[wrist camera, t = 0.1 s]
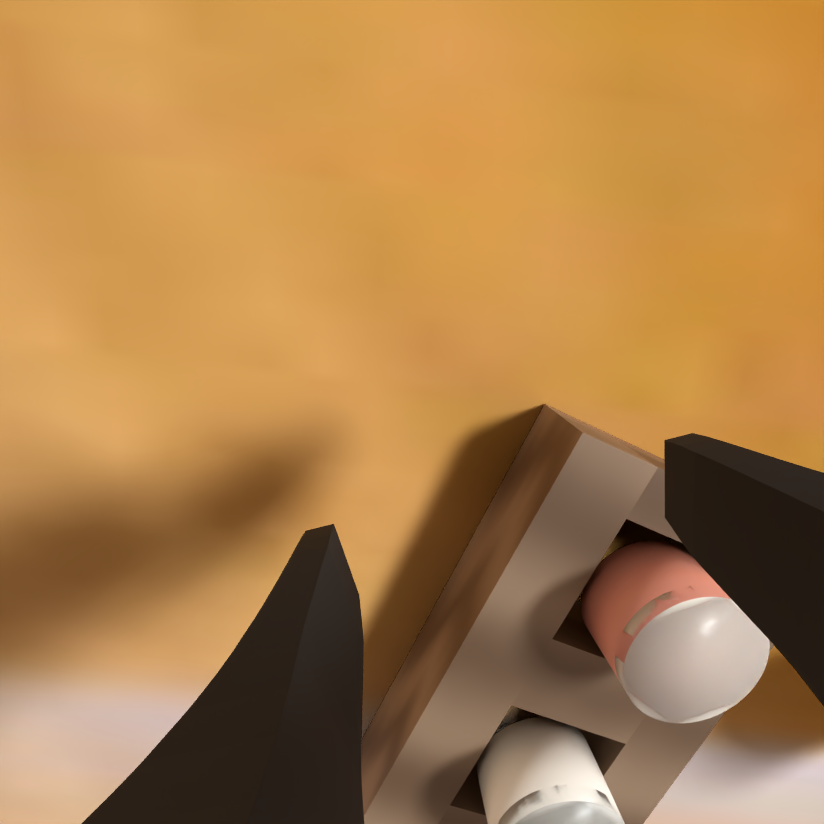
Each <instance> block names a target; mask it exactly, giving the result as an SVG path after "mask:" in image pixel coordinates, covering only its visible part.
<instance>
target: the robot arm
mask: <svg viewBox="0 0 824 824" xmlns="http://www.w3.org/2000/svg"><path fill="white" fill-rule="evenodd" d="M665 518H666V520H667V521H668V523H669V524H670V526H671V527H672V529H673V530H674V532H675V533H676V535H677V536H678V538H679V539H680V540H681V542H682V543H683V544H684V546H685V547H686V549H687V550H688V551H689V553H690V554H691V555H692V557H693V558H694V559H695V560H696V561H697V562H698V563H699V565H700V566H701V567H702V568H703V569H704V570H705V571H706V572H707V573H708V574H709V576H710V577H711V578H712V579H713V580H714V581H715V582H716V583H717V584H718V585H719V586H720V588H721V589H722V590H723V591H724V592H725V593H726V594H727V595H728V596H729V597H730V598H731V599H732V600H733V602H734V603H735V604H736V605H737V606H738V607H739V608H740V609H741V610H742V611H743V612H744V613H745V614H746V615H747V617H748V618H749V619H750V620H751V621H752V622H753V623H754V624H755V625H756V626H757V627H758V628H759V629H760V630H761V632H762V633H763V634H764V635H765V636H766V637H767V638H768V639H769V640H770V641H771V642H772V643H773V644H774V646H775V647H776V648H777V649H778V650H779V651H780V652H781V654H782V655H783V656H784V657H785V658H786V659H787V660H788V662H789V663H790V664H791V665H792V666H793V667H794V669H795V670H796V671H797V672H798V674H799V675H800V676H801V678H802V679H803V680H804V681H805V683H806V684H807V685H808V687H809V688H810V689H811V690H812V692H813V693H814V694H815V696H816V697H817V698H818V700H819V701H820V702H821V703H822V705H823V706H824V473H822V472H819V471H815V470H812V469H809V468H805V467H802V466H799V465H796V464H793V463H789V462H786V461H783V460H780V459H777V458H774V457H770V456H767V455H764V454H761V453H758V452H755V451H752V450H749V449H745V448H742V447H739V446H736V445H733V444H730V443H726V442H723V441H720V440H716V439H713V438H709V437H706V436H702V435H698V434H693V433H692V434H688V435H684V436H680V437H676V438H672V439H668V440H665ZM362 696H363V630H362V618H361V609H360V599H359V593H358V591H357V588H356V585H355V582H354V579H353V577H352V574H351V571H350V568H349V565H348V563H347V560H346V557H345V554H344V551H343V548H342V546H341V543H340V540H339V537H338V534H337V532H336V529H335V526H334V524H331V525H327V526H323V527H319V528H315V529H311V530H308V531H305V533H304V534H303V536H302V538H301V539H300V541H299V543H298V545H297V546H296V548H295V550H294V552H293V554H292V556H291V557H290V559H289V561H288V563H287V565H286V566H285V568H284V570H283V572H282V573H281V575H280V577H279V579H278V581H277V582H276V584H275V586H274V587H273V589H272V591H271V592H270V594H269V596H268V597H267V599H266V601H265V603H264V604H263V606H262V608H261V609H260V611H259V612H258V614H257V616H256V617H255V619H254V620H253V622H252V623H251V625H250V626H249V628H248V629H247V631H246V632H245V634H244V635H243V637H242V639H241V640H240V642H239V643H238V645H237V646H236V648H235V649H234V651H233V652H232V653H231V655H230V656H229V658H228V659H227V661H226V662H225V663H224V665H223V666H222V668H221V669H220V670H219V672H218V673H217V674H216V676H215V677H214V678H213V679H212V681H211V682H210V683H209V684H208V686H207V687H206V688H205V690H204V691H203V692H202V693H201V695H200V696H199V697H198V698H197V700H196V701H195V702H194V703H193V705H192V706H191V707H190V708H189V709H188V711H187V712H186V713H185V714H184V715H183V716H182V718H181V719H180V720H179V721H178V722H177V723H176V724H175V725H174V727H173V728H172V729H171V730H170V731H169V732H168V733H167V735H166V736H165V737H164V738H163V739H162V740H161V741H160V742H159V744H158V745H157V746H156V747H155V748H154V749H153V750H152V752H151V753H150V754H149V755H148V756H147V757H146V758H145V759H144V761H143V762H142V763H141V764H140V765H139V766H138V767H137V768H136V769H135V770H134V771H133V772H132V773H131V774H130V775H129V776H128V777H127V778H126V780H125V781H124V782H123V783H122V784H121V785H120V786H119V787H118V788H117V789H116V790H115V791H114V792H113V793H112V794H111V795H110V796H109V797H108V798H107V799H106V800H105V801H104V802H103V803H102V804H101V805H100V806H99V807H98V808H97V809H96V810H95V811H94V812H93V813H92V814H91V815H90V816H89V817H88V818H87V819H86V820H85V821H84V822H83V823H82V824H364V811H363V796H362V778H361V738H362Z"/></svg>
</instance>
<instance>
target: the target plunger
mask: <svg viewBox="0 0 824 824" xmlns="http://www.w3.org/2000/svg"><path fill="white" fill-rule="evenodd" d="M581 614H582V618H583V621H584V623H585V625H586V627H587V629H588V630H589V632H590V634H591V635H592V637H593V639H594V640H595V642H596V643H597V645H598V647H599V648H600V650H601V652H602V653H603V655H604V657H605V658H606V660H607V662H608V663H609V665H610V666H611V668H612V670H613V671H614V673H615V675H616V676H617V678H618V680H619V681H620V683H621V685H622V686H623V688H624V689H625V691H626V693H627V694H628V696H629V698H630V699H631V701H632V702H633V703H634V705H635V706H636V707H637V708H638V709H639V710H641V711H642V712H643V713H645V714H646V715H648V716H650V717H652V718H654V719H657V720H660V721H664V722H670V723H692V722H697V721H702V720H705V719H709V718H712V717H714V716H717V715H719V714H721V713H723V712H725V711H727V710H728V709H730V708H731V707H733V706H735V705H736V704H737V703H738V702H740V701H741V700H742V699H743V698H744V697H745V696H746V695H747V694H748V693H750V691H751V690H752V689H753V688H754V687H755V685H756V684H757V682H758V681H759V679H760V678H761V676H762V674H763V672H764V670H765V667H766V664H767V662H768V657H769V649H770V643H769V639H768V638H767V637H766V636H765V635H764V634H763V633H762V632H761V630H760V629H759V628H758V627H757V626H756V625H755V624H754V623H753V622H752V621H751V620H750V619H749V618H748V617H747V615H746V614H745V613H744V612H743V611H742V610H741V609H740V608H739V607H738V606H737V605H736V604H735V603H734V602H733V600H732V599H731V598H730V597H729V596H728V595H727V594H726V593H725V592H724V591H723V590H722V589H721V588H720V586H719V585H718V584H717V583H716V582H715V581H714V580H713V579H712V578H711V577H710V576H709V574H708V573H707V572H706V571H705V570H704V569H703V568H702V567H701V566H700V565H699V563H698V562H697V561H696V560H695V559H694V558H693V557H692V556H691V555H690V554H689V553H688V552H686V551H685V550H684V549H682V548H680V547H678V546H676V545H674V544H671V543H668V542H663V541H642V542H636V543H633V544H630V545H627V546H624V547H622V548H620V549H618V550H616V551H614V552H613V553H611V554H610V555H608V556H607V557H606V558H605V559H603V560H602V561H601V562H600V563H599V564H598V566H597V567H596V569H595V571H594V572H593V574H592V575H591V577H590V579H589V580H588V582H587V584H586V585H585V587H584V588H583V592H582V596H581Z"/></svg>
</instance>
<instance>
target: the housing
mask: <svg viewBox="0 0 824 824" xmlns="http://www.w3.org/2000/svg"><path fill="white" fill-rule="evenodd" d="M626 519H628V520H630V521H632V522H635V523H637V524H639V525H642V526H644V527H646V528H649V529H651V530H653V531H656V532H658V533H660V534H662V535H665V536H667V537H669V538H672V539H673V540H672V541H671V544H674V545H676V546H678V547H680V548H682V549H684V550H685V551H686V552H688V553H689V551H688V550H687V549H686V547H685V546H684V544H683V543H682V542H681V540H680V539H679V538H678V536H677V535H676V533H675V532H674V530H673V529H672V527H671V526H670V524H669V523H668V521H667V520H666V518H665V460H664V459H661V458H659V457H657V456H655V455H653V454H651V453H649V452H646V451H644V450H642V449H640V448H638V447H636V446H634V445H631V444H629V443H627V442H625V441H623V440H621V439H619V438H616V437H614V436H612V435H610V434H608V433H606V432H604V431H601V430H599V429H597V428H595V427H593V426H591V425H589V424H586V423H584V422H582V421H580V420H578V419H576V418H574V417H571V416H569V415H567V414H565V413H563V412H561V411H559V410H556V409H554V408H552V407H550V406H548V405H546V404H544V406H543V408H542V410H541V412H540V414H539V415H538V417H537V419H536V421H535V423H534V425H533V426H532V428H531V430H530V432H529V434H528V436H527V437H526V439H525V441H524V443H523V445H522V447H521V448H520V450H519V452H518V454H517V456H516V458H515V459H514V461H513V463H512V465H511V467H510V469H509V470H508V472H507V474H506V476H505V478H504V480H503V481H502V483H501V485H500V487H499V489H498V491H497V492H496V494H495V496H494V498H493V500H492V502H491V503H490V505H489V507H488V509H487V511H486V513H485V514H484V516H483V518H482V520H481V522H480V524H479V525H478V527H477V529H476V531H475V533H474V535H473V536H472V538H471V540H470V542H469V544H468V546H467V547H466V549H465V551H464V553H463V555H462V557H461V558H460V560H459V562H458V564H457V566H456V568H455V569H454V571H453V573H452V575H451V577H450V579H449V580H448V582H447V584H446V586H445V588H444V590H443V591H442V593H441V595H440V597H439V599H438V601H437V602H436V604H435V606H434V608H433V610H432V612H431V613H430V615H429V617H428V619H427V621H426V623H425V624H424V626H423V628H422V630H421V632H420V634H419V635H418V637H417V639H416V641H415V643H414V645H413V646H412V648H411V650H410V652H409V654H408V656H407V657H406V659H405V661H404V663H403V665H402V667H401V668H400V670H399V672H398V674H397V676H396V678H395V679H394V681H393V683H392V685H391V687H390V689H389V690H388V692H387V694H386V696H385V698H384V700H383V701H382V703H381V705H380V707H379V709H378V711H377V712H376V714H375V716H374V718H373V720H372V722H371V723H370V725H369V727H368V729H367V731H366V733H365V734H364V736H363V738H362V753H361V778H362V796H363V811H364V824H488V823H487V818H486V813H485V809H484V804H483V799H482V794H481V790H480V785H479V780H478V774H477V764H478V759H479V757H480V756H481V754H482V752H483V751H484V749H485V747H486V746H487V744H488V743H489V741H490V739H491V738H492V736H493V734H494V733H495V731H496V730H497V728H498V726H499V725H500V723H501V721H502V720H503V718H504V717H505V715H506V713H507V712H508V710H509V708H510V707H511V706H514V707H517V708H520V709H523V710H526V711H529V712H532V713H535V714H538V715H541V716H544V717H547V718H550V719H553V720H556V721H559V722H562V723H565V724H568V725H571V726H574V727H576V728H577V729H578V730H579V731H580V732H581V733H582V734H583V736H584V737H585V739H586V740H587V743H588V745H589V747H590V749H591V751H592V753H593V756H594V758H595V760H596V762H597V764H598V766H599V769H600V771H601V773H602V775H603V777H604V780H605V782H606V784H607V786H608V788H609V790H610V793H611V795H612V797H613V799H614V801H615V803H616V806H617V808H618V810H619V812H620V814H621V816H622V819H623V821H624V823H625V824H643V823H644V822H645V820H646V819H647V818H648V816H649V815H650V814H651V812H652V811H653V809H654V808H655V807H656V805H657V804H658V803H659V801H660V800H661V799H662V797H663V796H664V795H665V793H666V792H667V790H668V789H669V788H670V786H671V785H672V784H673V782H674V781H675V780H676V778H677V777H678V775H679V774H680V773H681V771H682V770H683V769H684V767H685V766H686V765H687V763H688V762H689V760H690V759H691V758H692V756H693V755H694V754H695V752H696V751H697V750H698V748H699V747H700V746H701V744H702V743H703V741H704V740H705V739H706V737H707V736H708V735H709V733H710V732H711V731H712V729H713V728H714V726H715V725H716V724H717V722H718V721H719V720H720V718H721V717H722V716H723V714H724V713H725V712H723V713H721V714H719V715H717V716H714V717H712V718H709V719H705V720H702V721H697V722H692V723H670V722H664V721H660V720H657V719H654V718H652V717H650V716H648V715H646V714H645V713H643V712H642V711H641V710H639V709H638V708H637V707H636V706H635V705H634V703H633V702H632V701H631V699H630V698H629V696H628V694H627V693H626V691H625V689H624V688H623V686H622V685H621V683H620V681H619V680H618V678H617V676H616V675H615V673H614V671H613V670H612V668H611V666H610V665H609V663H608V662H607V660H606V658H605V657H604V655H603V653H602V652H601V650H600V648H599V647H598V645H597V643H596V642H595V640H594V639H593V637H592V635H591V634H590V632H589V630H588V629H587V627H586V625H585V623H584V621H583V618H582V614H581V602H580V601H577V598H578V597H579V595H580V593H581V592H582V590H583V588H584V587H585V585H586V584H587V582H588V580H589V579H590V577H591V575H592V574H593V572H594V571H595V569H596V567H597V566H598V564H599V562H600V561H601V559H602V558H603V556H604V554H605V553H606V551H607V549H608V548H609V546H610V545H611V543H612V541H613V540H614V538H615V536H616V535H617V533H618V532H619V530H620V528H621V527H622V525H623V523H624V522H625V520H626ZM689 554H690V553H689ZM690 555H691V554H690ZM691 556H692V555H691ZM769 643H770V649H769V652H770V650H771V649H772V647H773V646H774V644H773V643H772V642H771V641H770V640H769Z"/></svg>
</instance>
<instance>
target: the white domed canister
mask: <svg viewBox="0 0 824 824" xmlns="http://www.w3.org/2000/svg"><path fill="white" fill-rule="evenodd" d="M477 774H478V780H479V785H480V790H481V794H482V799H483V804H484V809H485V813H486V818H487V823H488V824H625V823H624V821H623V819H622V816H621V814H620V812H619V810H618V808H617V806H616V803H615V801H614V799H613V797H612V795H611V793H610V790H609V788H608V786H607V784H606V782H605V780H604V777H603V775H602V773H601V771H600V769H599V766H598V764H597V762H596V760H595V758H594V756H593V753H592V751H591V749H590V747H589V745H588V743H587V740H586V739H585V737H584V736H583V734H582V733H581V732H580V731H579V730H578V729H577V728H576V727H574V726H571V725H568V724H565V723H562V722H559V721H556V720H553V719H550V718H547V717H538V718H530V719H525V720H521V721H518V722H515V723H513V724H511V725H509V726H507V727H505V728H503V729H502V730H500V731H499V732H498V733H496V734H495V735H494V736H493V737H492V738H491V739H490V741H489V743H488V744H487V746H486V747H485V749H484V751H483V752H482V754H481V756H480V757H479V759H478V764H477Z"/></svg>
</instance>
